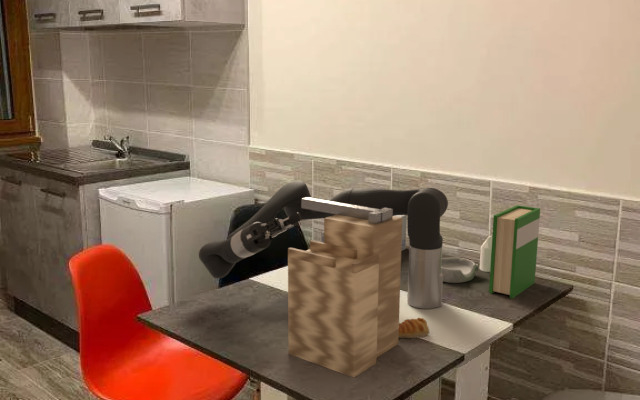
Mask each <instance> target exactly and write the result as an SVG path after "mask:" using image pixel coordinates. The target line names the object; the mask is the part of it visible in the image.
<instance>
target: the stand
mask: <svg viewBox="0 0 640 400" xmlns="http://www.w3.org/2000/svg"><path fill="white" fill-rule="evenodd" d="M323 228H324V229H323V231H324V243H323V242H321V241H318V240H314V239H312V240H309V248H308V249H307V250H304V249H298V248H295V247H288V248H287V295H288V296H287V297H288V298H287V311H288V313H287V315H288V317H287V319H288V322H287V323H288V327H287V329H288V332H287V333H288V335H287V336H288V339H287V340H288V354H289V355H291V356H294V357H297V358H299V359H302V360H305V361H308V362H310V363H313V364H315V365H318V366H321V367H324V368H327V369H329V370H332V371H334V372H337V373H339V374H340V373H341V374H343V375H345V376H348V377H351V378H355V377H357V376H359V375H360V374H362V373H363V372H365V371H366V370H368V369H370V368H371V367H373V366H374V365H376V364H377V358H378V357H380V356H382V355H383V354H385V353H387V352H388V351H389V350H391V349H393V348H394V347H396V346H397V345H399V340H400V338H399V323H400V302H401V301H400V300H401V276H402V275H401V270H402V251H401V244H402V218H401V217H396V216H393V218H392V219H391V220H388V221H386V222H383V223H379V224H376V225H375V224H370V223H369V220H364V219H359V218H353V217H348V216H342V215H337V214H336V215H333V216H330V217H326V218H323Z"/></svg>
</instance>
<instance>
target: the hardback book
mask: <svg viewBox="0 0 640 400" xmlns="http://www.w3.org/2000/svg"><path fill="white" fill-rule="evenodd" d="M540 217H541V208H538V207H531V206H524V205H517V204H516V205H514V206H512V207H510V208H507V209H506V210H503V211H501V212H498V213H496V214H493V218H492V221H493V222H492V250H491V266H490V272H489V273H490V274H489V283H488V284H489V285H488V294H494V293H495V292H496V293H500V294H504V295H508V296H509V298H510V299H514V298H515V297H516V296H518V295H519V294H521V293H523V292H525V290H527V289H528V288H530V287H531V286H533V285H534V284H535V283H536V267H537V257H538V256H537V255H538V245H539V244H538V243H539V233H540V232H539V231H540Z"/></svg>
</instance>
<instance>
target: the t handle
mask: <svg viewBox="0 0 640 400" xmlns="http://www.w3.org/2000/svg"><path fill="white" fill-rule="evenodd" d="M328 200H329V199H327V200H326V199H321V198H314V197H311V198H310V197H306V198H302V199H301V208H304V209H310V210H315V211H320V212H326V213H331V214H337V215H342V216H348V217H353V218H359V219H364V220H369V223H370V224H375V225H376V224H379V223H383V222H386V221H388V220H391V219H392V218H393V209H390V208H383V209H375V208H369V207H363V206H357V205H351V204H345V203H339V202H334V201H328Z"/></svg>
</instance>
